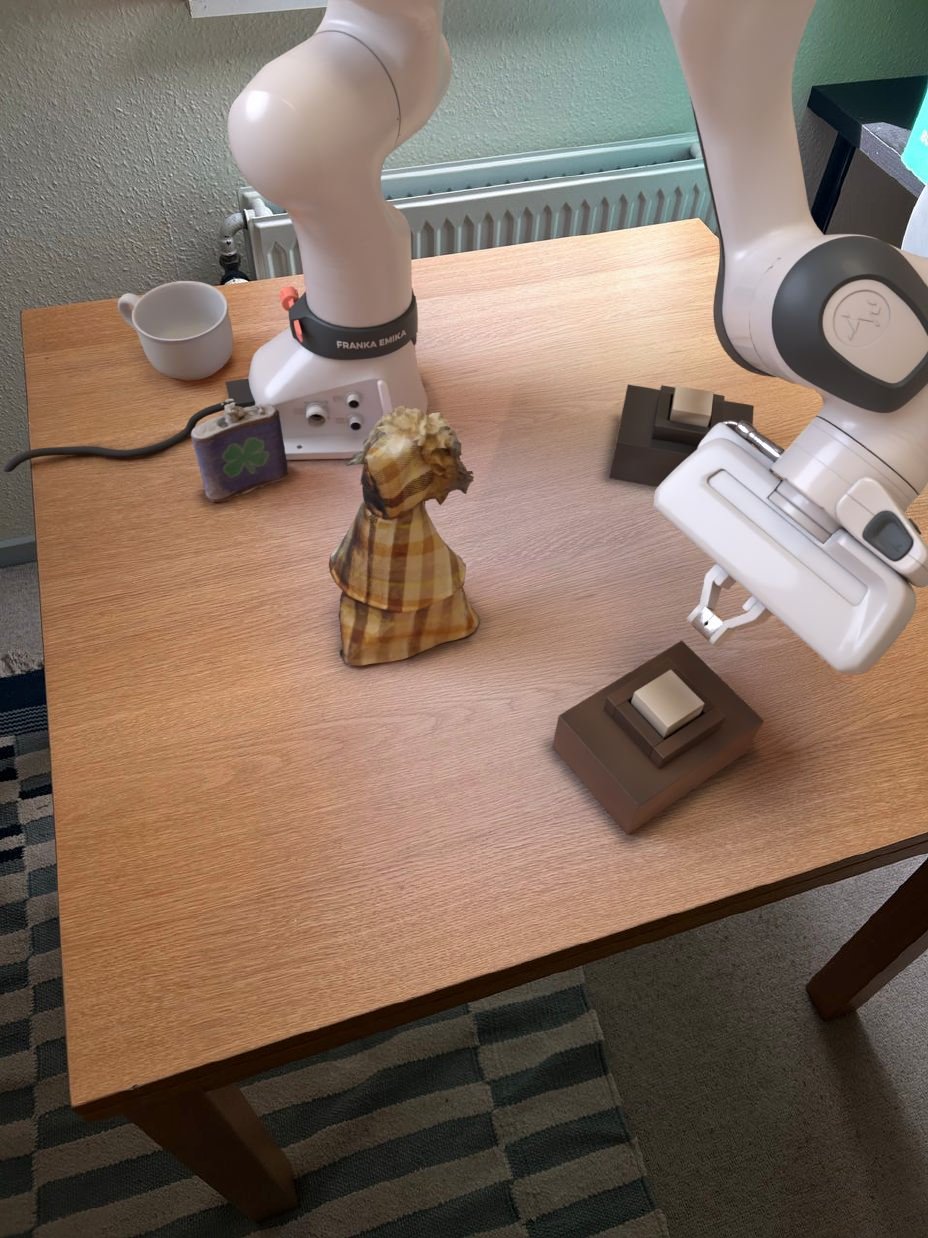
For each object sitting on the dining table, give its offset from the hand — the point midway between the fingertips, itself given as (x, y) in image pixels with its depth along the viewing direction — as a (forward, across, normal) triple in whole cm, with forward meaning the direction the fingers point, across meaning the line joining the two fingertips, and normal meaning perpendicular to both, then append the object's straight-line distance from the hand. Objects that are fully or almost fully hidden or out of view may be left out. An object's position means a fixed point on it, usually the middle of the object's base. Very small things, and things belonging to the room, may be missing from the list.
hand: (702, 633), depth 69 cm
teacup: (+20, -72, +2) cm, 75 cm away
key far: (-12, -26, +25) cm, 38 cm away
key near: (+7, 0, +5) cm, 9 cm away
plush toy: (+19, -25, +3) cm, 31 cm away
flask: (+22, -48, 0) cm, 53 cm away
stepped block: (-7, -26, +29) cm, 40 cm away
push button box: (+12, 0, +10) cm, 16 cm away
